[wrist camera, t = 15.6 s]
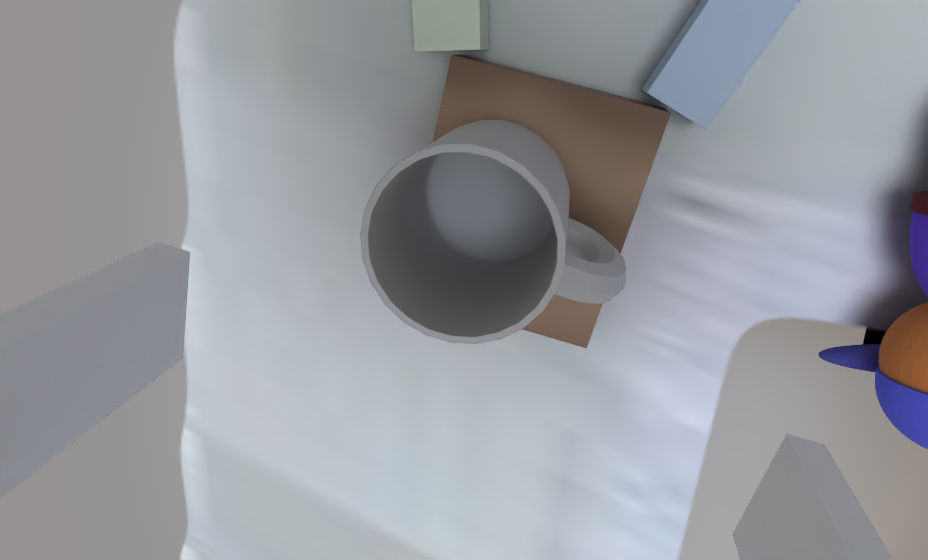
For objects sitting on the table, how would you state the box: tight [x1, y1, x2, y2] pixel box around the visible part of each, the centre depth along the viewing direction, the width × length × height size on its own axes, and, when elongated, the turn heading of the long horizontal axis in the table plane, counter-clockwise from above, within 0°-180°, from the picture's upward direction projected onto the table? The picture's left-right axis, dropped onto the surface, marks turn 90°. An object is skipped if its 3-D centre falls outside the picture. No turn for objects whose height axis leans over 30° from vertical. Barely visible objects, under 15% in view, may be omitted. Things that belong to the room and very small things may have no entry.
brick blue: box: [642, 0, 800, 130], centre depth 27 cm, size 6×3×3 cm, turn 150°
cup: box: [360, 120, 626, 344], centre depth 26 cm, size 7×10×9 cm
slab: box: [433, 55, 671, 348], centre depth 31 cm, size 12×10×2 cm
